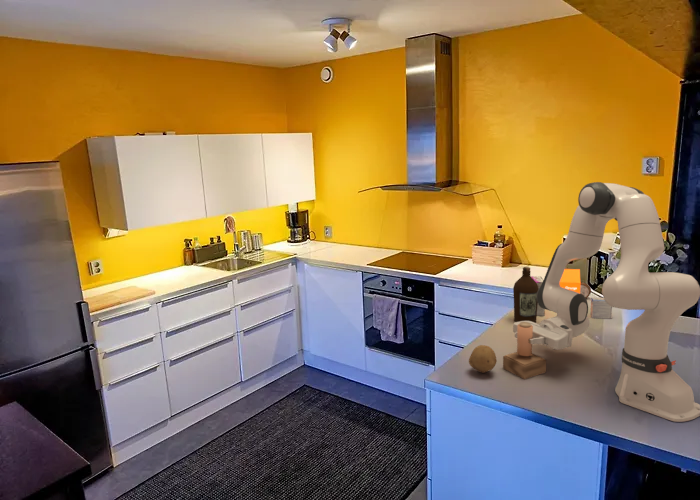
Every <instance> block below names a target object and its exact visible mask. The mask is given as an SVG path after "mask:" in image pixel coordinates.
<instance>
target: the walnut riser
mask: <svg viewBox="0 0 700 500" xmlns="http://www.w3.org/2000/svg"><path fill="white" fill-rule="evenodd" d="M502 369H504V370H505V371H507V372H510V373H511V374H513V375H515V376H517V377H519V378H521V379H523V380H527V379H529V378H532V377H536V376H539V375H541V374H545V373H546V372H547V359H545V358H544V357H542V356H539V355H537V354H535V353H533V352H532V355H530V356H522V355H519V354H517V351H515V352H512V353H511V352H510V353H508V354H505V355H503V358H502Z"/></svg>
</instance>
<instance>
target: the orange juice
mask: <svg viewBox="0 0 700 500" xmlns="http://www.w3.org/2000/svg"><path fill="white" fill-rule="evenodd" d="M580 282H581V269H580V268H576V269H574V268H565V270H564V272H563V275H562V277H561V280H560V283H559V284H560V287H562V288H565V289H568V290H572V291H575V292H577V293H580Z"/></svg>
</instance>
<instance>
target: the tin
mask: <svg viewBox="0 0 700 500" xmlns="http://www.w3.org/2000/svg"><path fill="white" fill-rule="evenodd" d="M591 293H592V289H591V286H590V285H589V284H588V283H586V282H581V281H580V294H583V295H584V296H585V298H586V299H587V298H589V296H590V295H591Z"/></svg>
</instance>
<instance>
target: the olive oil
mask: <svg viewBox="0 0 700 500" xmlns="http://www.w3.org/2000/svg"><path fill="white" fill-rule="evenodd" d="M521 273H522V274H521V277H520V278H518V279H517V280H516V281H515V283H514V284H513V288H512V289H513V290H512V291H513V321H514V323H515V322H520V321H532V322H534V323H537V317H538V316H537V304H538V302H537V298H536V295H537V291H538V289H539V288H538V285H537V283H536V282H535V281H534V280H533V279H532V278H531V276H532V275H531V267H529V266H523V267H522V271H521Z"/></svg>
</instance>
